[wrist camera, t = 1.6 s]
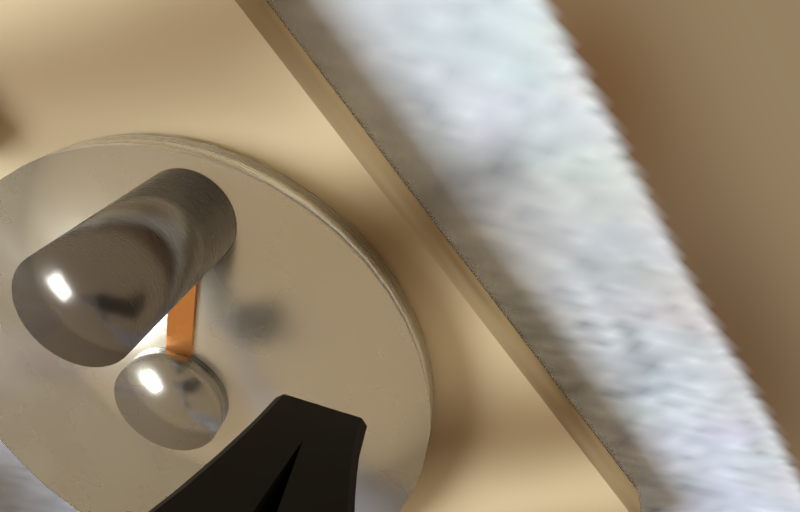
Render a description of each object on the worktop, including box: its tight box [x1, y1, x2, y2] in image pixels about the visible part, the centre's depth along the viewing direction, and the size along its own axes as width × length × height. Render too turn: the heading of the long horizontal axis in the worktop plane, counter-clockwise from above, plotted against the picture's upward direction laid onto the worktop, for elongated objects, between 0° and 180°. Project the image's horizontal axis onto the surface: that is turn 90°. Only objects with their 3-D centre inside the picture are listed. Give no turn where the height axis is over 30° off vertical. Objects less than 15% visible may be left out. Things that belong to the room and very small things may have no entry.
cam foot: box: [0, 134, 435, 512], centre depth 17 cm, size 14×14×5 cm
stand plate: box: [0, 0, 641, 512], centre depth 19 cm, size 24×16×3 cm, turn 37°
